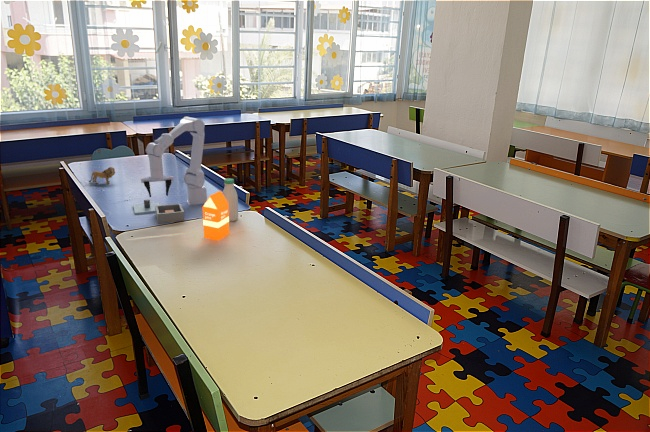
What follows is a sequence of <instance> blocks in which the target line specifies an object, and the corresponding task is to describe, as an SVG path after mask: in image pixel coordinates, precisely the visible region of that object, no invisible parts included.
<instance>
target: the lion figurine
mask: <svg viewBox="0 0 650 432" xmlns="http://www.w3.org/2000/svg"><path fill="white" fill-rule="evenodd" d="M115 174H116V171H115V167H113V166H110V167H108V168H107V169H104V170H103V171H98V170H96V171H95V170H94V171H93V172H92V174H91V176H90V177H91V178H90V180H88V183H91V182H92V183H95V184H99V182H98V181H97V178H100V179H105V181H106V184H107V185H108V184H110V182H111V181H110V180H109V179H111V178H112V177H113V176H115Z"/></svg>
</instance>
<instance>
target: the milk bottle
mask: <svg viewBox="0 0 650 432" xmlns="http://www.w3.org/2000/svg"><path fill="white" fill-rule="evenodd" d="M223 183H224V188H223V189H222V191H221V192H222V194H223V195H224V197H225V199H226V200H227V202H228V207H229V223H231V222H236V221H238V219H239V200H238V199H239V197H238V193H237V190H236V188H235V186H234V185H235V180H234V178H229V177H228V178H224V179H223Z"/></svg>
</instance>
